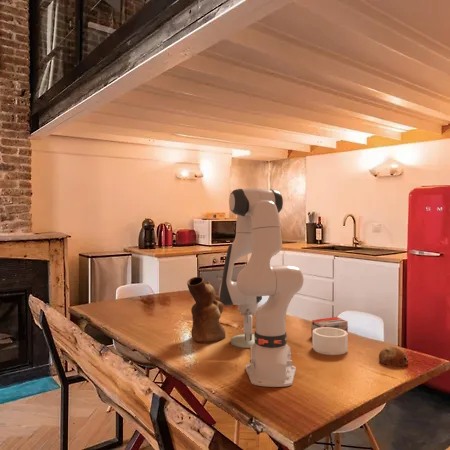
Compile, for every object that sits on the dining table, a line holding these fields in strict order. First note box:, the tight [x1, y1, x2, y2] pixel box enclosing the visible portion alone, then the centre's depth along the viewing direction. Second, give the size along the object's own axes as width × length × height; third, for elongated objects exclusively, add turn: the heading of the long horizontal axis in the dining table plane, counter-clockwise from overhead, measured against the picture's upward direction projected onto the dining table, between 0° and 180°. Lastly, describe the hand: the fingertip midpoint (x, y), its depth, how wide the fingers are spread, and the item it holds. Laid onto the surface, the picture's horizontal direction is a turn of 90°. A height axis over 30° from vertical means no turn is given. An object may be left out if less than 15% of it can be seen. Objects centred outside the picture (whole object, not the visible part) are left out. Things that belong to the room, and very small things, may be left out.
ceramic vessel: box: [186, 276, 226, 344], centre depth 186 cm, size 16×22×30 cm
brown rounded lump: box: [378, 345, 409, 367], centre depth 160 cm, size 10×10×8 cm
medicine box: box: [310, 316, 349, 338], centre depth 192 cm, size 15×8×8 cm, turn 113°
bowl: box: [311, 327, 349, 356], centre depth 174 cm, size 14×14×8 cm
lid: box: [230, 332, 255, 349], centre depth 183 cm, size 16×16×5 cm
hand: (248, 337), depth 183 cm, fingers open, 8 cm apart
